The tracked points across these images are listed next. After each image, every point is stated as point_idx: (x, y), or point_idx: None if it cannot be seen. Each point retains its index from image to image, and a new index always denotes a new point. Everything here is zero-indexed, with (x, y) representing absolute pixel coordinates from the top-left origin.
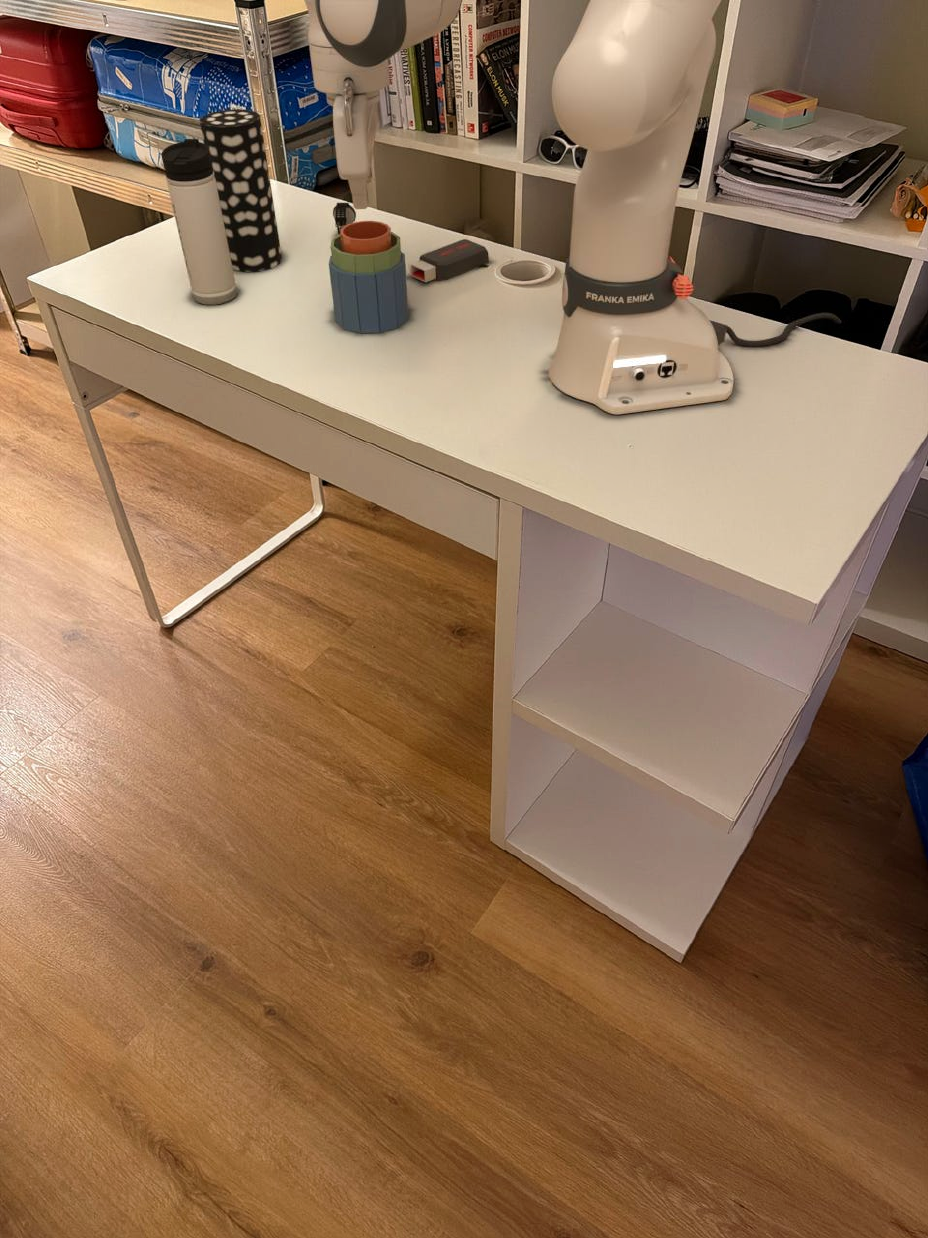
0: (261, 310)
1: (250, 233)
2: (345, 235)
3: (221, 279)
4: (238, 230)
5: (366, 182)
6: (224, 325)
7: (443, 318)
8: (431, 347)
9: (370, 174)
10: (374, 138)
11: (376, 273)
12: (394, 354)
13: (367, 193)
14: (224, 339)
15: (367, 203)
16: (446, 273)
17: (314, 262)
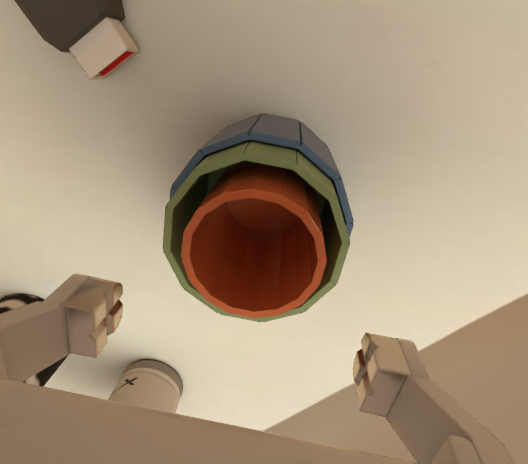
0: (209, 336)
1: (35, 375)
2: (277, 309)
3: (167, 401)
4: None
5: (465, 424)
6: (247, 379)
7: (313, 41)
8: (430, 93)
9: (106, 296)
10: (37, 419)
11: (349, 220)
12: (428, 169)
13: (384, 360)
14: (288, 382)
15: (416, 349)
16: None
17: (36, 248)
